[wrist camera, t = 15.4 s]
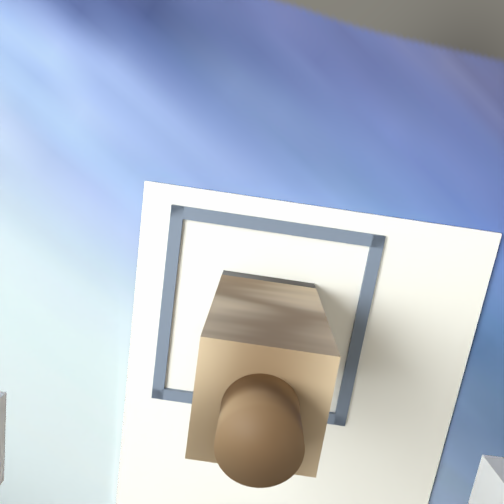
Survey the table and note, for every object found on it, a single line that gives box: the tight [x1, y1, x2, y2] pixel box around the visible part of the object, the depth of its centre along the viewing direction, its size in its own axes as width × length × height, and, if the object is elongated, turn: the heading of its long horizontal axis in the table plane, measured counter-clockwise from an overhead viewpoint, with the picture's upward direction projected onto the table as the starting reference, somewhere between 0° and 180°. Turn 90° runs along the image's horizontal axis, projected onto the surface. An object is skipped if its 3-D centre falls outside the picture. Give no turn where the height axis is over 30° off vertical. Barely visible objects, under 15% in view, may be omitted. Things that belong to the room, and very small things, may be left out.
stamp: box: [185, 270, 341, 488], centre depth 18 cm, size 4×4×10 cm
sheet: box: [116, 181, 502, 504], centre depth 24 cm, size 17×26×1 cm, turn 172°
